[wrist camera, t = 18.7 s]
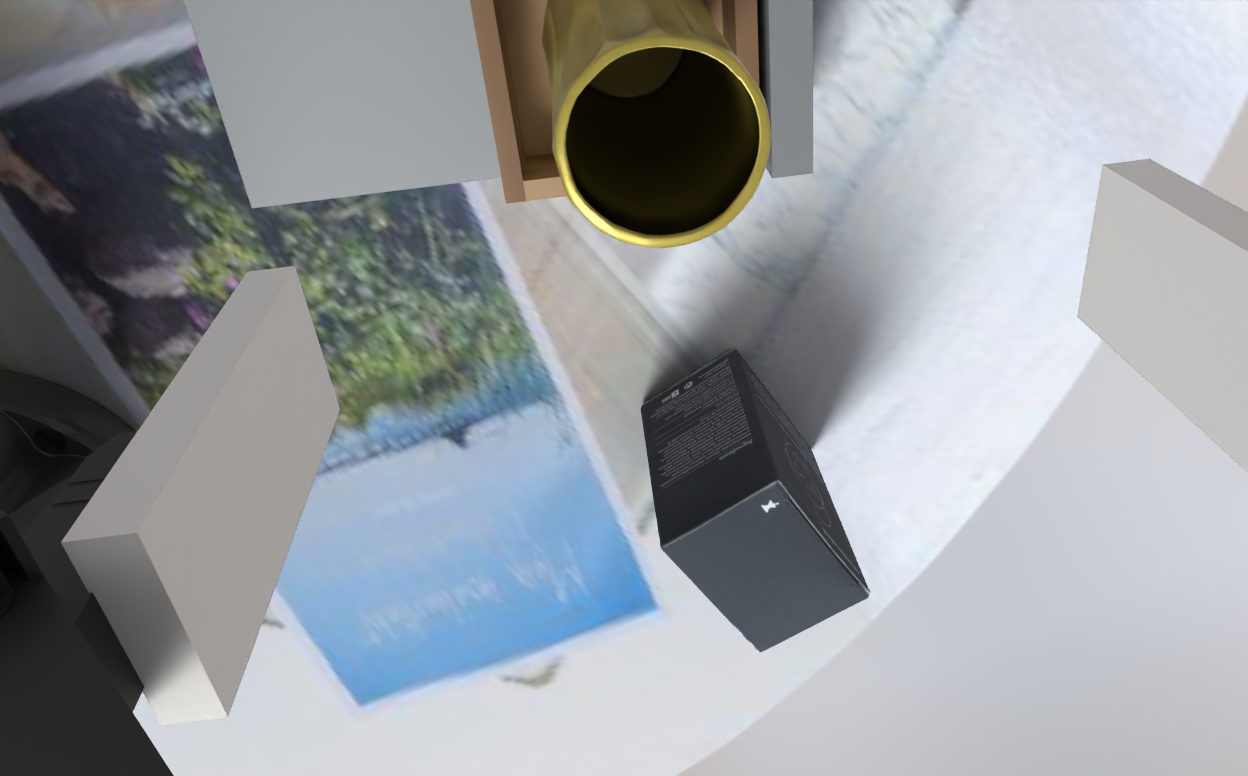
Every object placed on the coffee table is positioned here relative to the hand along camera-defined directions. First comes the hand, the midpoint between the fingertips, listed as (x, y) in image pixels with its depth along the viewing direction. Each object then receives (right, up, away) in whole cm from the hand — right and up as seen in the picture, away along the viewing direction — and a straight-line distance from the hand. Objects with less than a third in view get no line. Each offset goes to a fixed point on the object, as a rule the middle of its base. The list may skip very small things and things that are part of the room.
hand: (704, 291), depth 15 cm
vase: (-1, +12, +19) cm, 22 cm away
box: (+4, -4, +31) cm, 32 cm away
